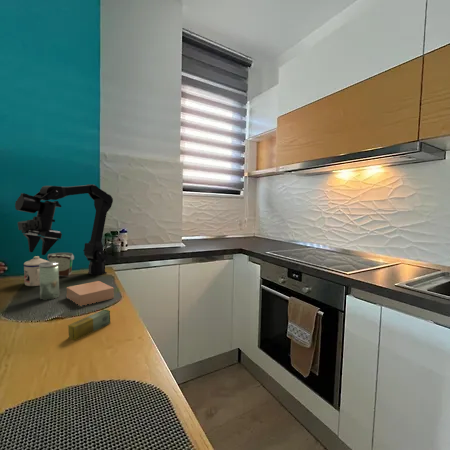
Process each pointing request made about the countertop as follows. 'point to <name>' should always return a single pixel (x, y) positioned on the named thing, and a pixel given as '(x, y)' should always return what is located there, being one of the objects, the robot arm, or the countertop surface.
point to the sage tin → (49, 280)
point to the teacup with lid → (32, 271)
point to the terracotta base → (90, 293)
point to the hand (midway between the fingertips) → (36, 253)
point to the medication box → (88, 324)
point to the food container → (62, 262)
